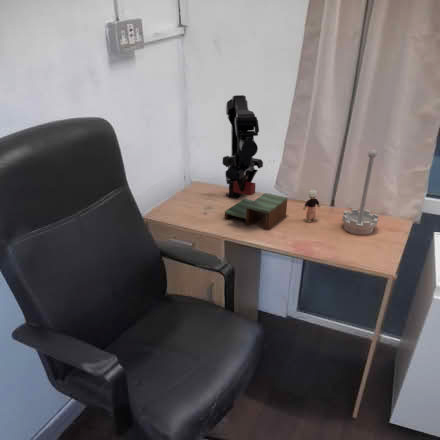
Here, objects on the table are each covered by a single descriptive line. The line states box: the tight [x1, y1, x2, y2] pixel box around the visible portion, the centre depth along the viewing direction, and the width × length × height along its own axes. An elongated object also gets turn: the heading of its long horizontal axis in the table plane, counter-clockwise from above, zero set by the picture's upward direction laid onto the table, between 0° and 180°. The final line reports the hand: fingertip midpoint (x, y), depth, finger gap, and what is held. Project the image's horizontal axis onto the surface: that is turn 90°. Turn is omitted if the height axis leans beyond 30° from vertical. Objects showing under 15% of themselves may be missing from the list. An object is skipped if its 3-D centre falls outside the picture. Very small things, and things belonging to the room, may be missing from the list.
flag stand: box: [341, 149, 379, 236], centre depth 154 cm, size 13×13×30 cm
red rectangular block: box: [233, 180, 256, 197], centre depth 164 cm, size 4×8×4 cm, turn 56°
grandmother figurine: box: [302, 189, 321, 223], centre depth 165 cm, size 8×4×13 cm, turn 126°
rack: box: [224, 192, 288, 231], centre depth 170 cm, size 16×20×8 cm
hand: (244, 189), depth 165 cm, fingers closed on red rectangular block, 3 cm apart
